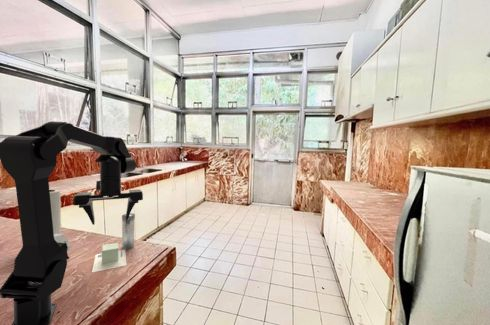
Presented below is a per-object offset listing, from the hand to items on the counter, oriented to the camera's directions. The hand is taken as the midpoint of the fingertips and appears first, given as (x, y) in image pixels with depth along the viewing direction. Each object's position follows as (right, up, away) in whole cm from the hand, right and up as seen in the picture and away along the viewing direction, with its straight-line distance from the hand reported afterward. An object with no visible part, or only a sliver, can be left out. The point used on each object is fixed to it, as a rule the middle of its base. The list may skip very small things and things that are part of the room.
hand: (110, 222), depth 70 cm
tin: (0, -12, +10) cm, 16 cm away
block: (-1, -13, +1) cm, 13 cm away
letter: (-1, -13, +1) cm, 13 cm away
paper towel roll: (-27, -12, +7) cm, 30 cm away
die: (-20, -12, +1) cm, 23 cm away
